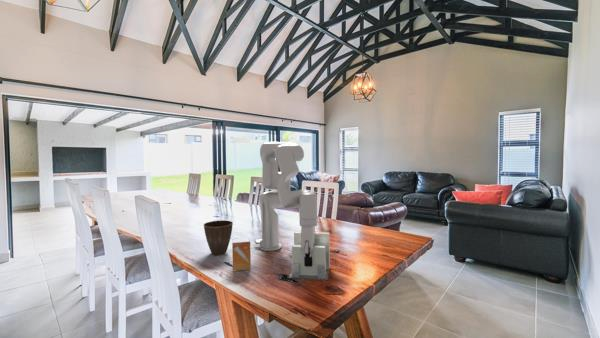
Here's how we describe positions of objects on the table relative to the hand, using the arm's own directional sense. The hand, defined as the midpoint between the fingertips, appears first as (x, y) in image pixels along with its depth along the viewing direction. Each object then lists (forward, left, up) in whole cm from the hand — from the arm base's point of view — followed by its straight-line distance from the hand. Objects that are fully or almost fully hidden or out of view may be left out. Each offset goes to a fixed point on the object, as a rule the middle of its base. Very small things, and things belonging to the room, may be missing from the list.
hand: (309, 263), depth 120 cm
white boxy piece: (0, +3, -5) cm, 6 cm away
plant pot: (-52, +22, -5) cm, 57 cm away
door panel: (0, 0, -4) cm, 4 cm away
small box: (-32, +4, -5) cm, 33 cm away
